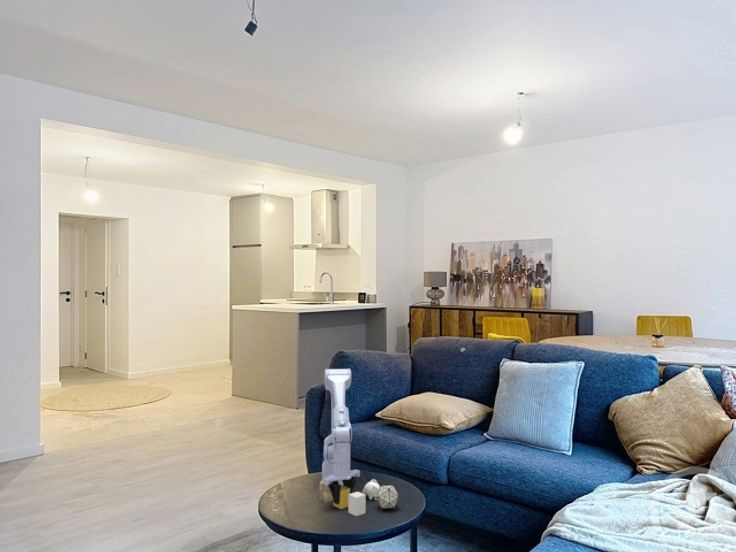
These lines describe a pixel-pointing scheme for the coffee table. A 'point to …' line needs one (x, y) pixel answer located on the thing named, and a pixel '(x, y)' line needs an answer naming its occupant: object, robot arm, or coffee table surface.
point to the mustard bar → (343, 498)
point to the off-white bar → (356, 503)
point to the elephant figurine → (371, 489)
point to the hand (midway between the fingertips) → (341, 501)
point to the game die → (387, 496)
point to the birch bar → (325, 493)
